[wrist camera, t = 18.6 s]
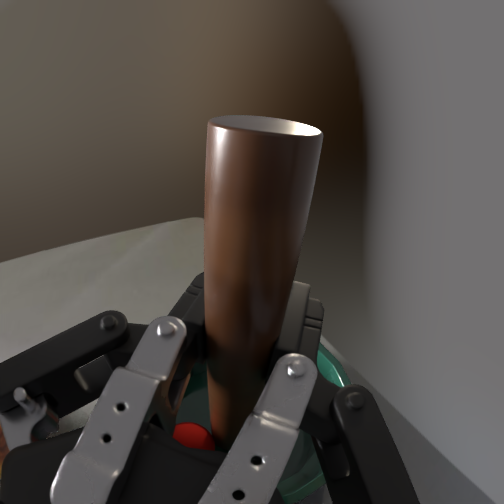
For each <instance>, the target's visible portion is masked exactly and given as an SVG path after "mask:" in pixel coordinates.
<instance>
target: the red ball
mask: <svg viewBox="0 0 504 504" xmlns="http://www.w3.org/2000/svg"><path fill="white" fill-rule="evenodd" d="M173 438H174V439H175V440H177V441H178V442H180V443H181V444H182V445H184V446H186V447H190V448H197V449H204V450H213V451H215V442H214V439H213V437H212V435H211V433H210V432H209V431H208V430H207V429H206V428H205V427H203V426H201V425H199V424H197V423H193V422H183V423H179V424H177V425H176V426H175V431H174V434H173Z"/></svg>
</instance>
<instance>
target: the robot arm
mask: <svg viewBox="0 0 504 504" xmlns="http://www.w3.org/2000/svg"><path fill="white" fill-rule="evenodd" d="M310 287H311V285H309V284H305V283H301V282H297V281H294V282H293V285H292V289H291V293H290V297H289V301H288V305H287V309H286V313H285V317H284V321H283V325H282V328H281V332H280V335H279V337H278V338H277V340H276V343H275V347H274V350H273V354H272V358H271V361H270V365H269V369H268V372H267V376H266V379H265V383H264V384H266V386H265V388H264V390H263V392H262V394H261V396H260V398H259V400H258V402H257V404H256V406H255V408H254V409H253V411H252V412H251V413H250V414H249V416H248V418H247V419H246V421H245V423H244V425H243V427H242V429H241V431H240V432H239V434H238V436H237V438H236V440H235V442H234V443H233V445H232V447H231V449H230V451H229V452H228V453H225V452H222V451H213V450H204V449H197V448H190V447H186V446H184V445H182V444H181V443H180V442H178V441H177V440H175V439H174V438H173V434H174V431H175V426H176V417H177V413H178V410H179V407H180V404H181V401H182V399H183V396H184V393H185V390H186V388H187V385H188V382H189V379H190V376H191V370H192V368H193V366H194V364H195V362H197V363H200V364H204V362H205V360H206V337H205V302H204V272H203V273H201V274H199V275H197V276H196V277H195V279H194V280H193V281H192V283H191V284H190V286H189V287H188V288H187V290H186V292H184V294H183V295H182V296H181V298H180V299H179V300H178V302H177V303H176V305H175V306H174V307H173V309H172V310H171V311H170V313H169V314H168V316H163V317H159V318H157V319H155V320H153V321H152V322H151V323H150V324H149V325H143V324H133V323H128V322H127V319H126V317H125V315H124V314H122V313H121V312H118V311H114V310H110V311H105V312H103V313H100V314H98V315H96V316H94V317H92V318H90V319H88V320H86V321H84V322H82V323H80V324H78V325H76V326H74V327H72V328H70V329H68V330H66V331H64V332H62V333H60V334H58V335H56V336H54V337H52V338H50V339H48V340H46V341H44V342H42V343H40V344H38V345H36V346H34V347H32V348H30V349H28V350H26V351H24V352H22V353H20V354H18V355H16V356H14V357H12V358H10V359H8V360H6V361H4V362H2V363H0V425H1V428H2V431H3V434H4V437H5V440H6V443H7V446H8V448H9V451H10V452H9V453H8V454H7V455H6V457H5V458H4V460H3V463H2V468H1V486H0V504H285V502H284V500H283V498H282V496H281V494H280V492H279V490H278V489H277V487H276V486H277V484H278V482H279V480H280V478H281V475H282V473H283V471H284V469H285V466H286V464H287V462H288V459H289V457H290V455H291V452H292V450H293V447H294V445H295V442H296V440H297V437H298V434H299V430H300V429H301V430H303V431H304V432H306V433H308V434H310V435H311V439H312V442H313V445H314V448H315V451H316V454H317V457H318V460H319V463H320V466H321V469H322V472H323V475H324V478H325V481H326V484H327V487H328V490H329V493H330V496H331V499H332V502H333V504H420V502H419V500H418V497H417V495H416V492H415V490H414V487H413V485H412V482H411V480H410V478H409V475H408V473H407V470H406V468H405V466H404V463H403V461H402V459H401V456H400V454H399V452H398V450H397V447H396V445H395V443H394V440H393V438H392V436H391V434H390V432H389V429H388V427H387V425H386V423H385V421H384V418H383V416H382V414H381V412H380V410H379V408H378V406H377V403H376V401H375V399H374V397H373V395H372V394H371V393H370V391H369V390H367V389H366V388H365V387H363V386H360V385H356V384H350V385H346V386H344V387H340V386H338V385H336V384H334V383H332V382H330V381H329V380H327V379H326V378H325V377H324V376H323V375H322V374H321V373H320V371H319V369H318V366H317V356H318V350H319V343H320V337H321V329H322V323H323V322H322V321H323V315H324V308H323V306H322V303H321V301H320V300H317V299H313V298H309V292H310ZM102 355H104V356H102ZM100 356H102V357H100ZM98 357H100V358H98ZM97 358H98V359H97ZM95 359H96V360H95ZM93 360H94V361H93ZM91 361H92V362H91ZM89 362H90V363H89ZM87 363H89V364H87ZM85 364H87V365H85ZM83 365H85V366H83ZM81 366H83V367H81ZM79 367H81V368H79ZM98 398H99V399H98ZM96 399H98V401H97V403H96V405H95V407H94V409H93V411H92V413H91V415H90V417H89V419H88V421H87V423H86V425H85V426H84V427H82V428H79V429H76V430H73V431H70V432H66V433H63V434H60V435H57V436H54V437H50V438H47V436H48V435H49V434H50V433H56V432H57V431H58V430H59V425H58V422H59V419H60V418H62V417H64V416H66V415H68V414H70V413H72V412H74V411H75V410H77V409H79V408H81V407H83V406H85V405H87V404H88V403H90V402H92V401H94V400H96ZM46 438H47V439H46Z"/></svg>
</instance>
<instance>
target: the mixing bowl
mask: <svg viewBox="0 0 504 504" xmlns="http://www.w3.org/2000/svg"><path fill="white" fill-rule="evenodd" d="M317 366H318V369H319V371H320V373H321V374H322V375H323V376H324V377H325V378H326V379H327V380H329V381H330V382H332V383H334V384H336V385H338V386H340V387H344V386H346V385H350V384H351V382H350V380H349V378H348V376H347V374H346V373H345V371H344V369H343V367H342V365H341V363H340V362H339V361H338V360H337V359H336V358H335V357H334V356H333V355H332V354H331V353H330V352H329V351H328V350H327V349H326V348H325V347H324V346H323V345H322V344H321V343H319V350H318V356H317ZM183 422H193V423H197V424H199V425H201V426H203V427H205V428H206V429H207V430H208V431H209V432H210V433H211V423H210V410H209V396H208V379H207V360H205V362H204V364H200V363H197V362H195V364H194V366H193V368H192V370H191V376H190V379H189V382H188V385H187V388H186V390H185V393H184V396H183V399H182V401H181V404H180V407H179V410H178V413H177V417H176V425H177V424H179V423H183ZM215 451H222V452H225V453H228V452H229V451H230V450H225V449H222V448H220V447H219V446H217V445H216V444H215ZM324 484H326V481H325V478H324V475H323V472H322V469H321V466H320V463H319V460H318V457H317V454H316V451H315V448H314V445H313V442H312V439H311V435H310V434H308V433H306V432H304V431H303V430H301V429H300V430H299V434H298V437H297V440H296V442H295V445H294V447H293V450H292V452H291V455H290V457H289V459H288V462H287V464H286V466H285V469H284V471H283V473H282V475H281V478H280V480H279V482H278V484H277V486H276V487H277V489H278V490H279V492H280V494H281V496H282V498H283V500H284V502H285V504H294V503H297V502H299V501H301V500H302V499H304V498H306V497H307V496H309V495H310V494H312V493H313V492H314V491H316V490H317V489H319V488H320V487H322V486H323V485H324Z"/></svg>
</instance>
